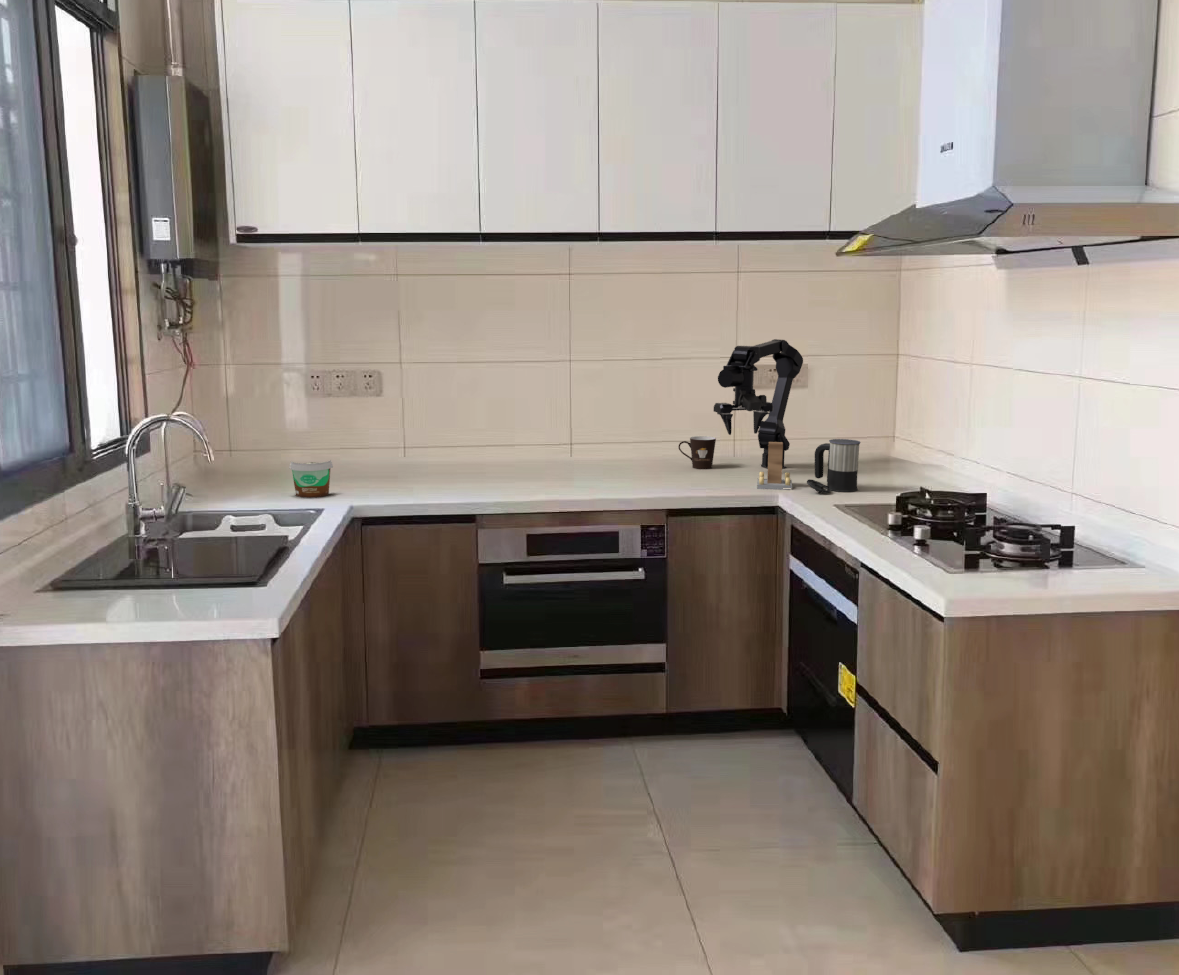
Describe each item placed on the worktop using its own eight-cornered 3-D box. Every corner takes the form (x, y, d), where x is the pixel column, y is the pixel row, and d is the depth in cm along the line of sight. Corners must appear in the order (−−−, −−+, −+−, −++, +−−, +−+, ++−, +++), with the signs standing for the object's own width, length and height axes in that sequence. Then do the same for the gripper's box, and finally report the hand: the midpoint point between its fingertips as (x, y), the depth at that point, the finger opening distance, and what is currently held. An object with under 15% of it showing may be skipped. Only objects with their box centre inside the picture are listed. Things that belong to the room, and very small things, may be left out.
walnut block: (767, 480, 346) (768, 441, 343) (781, 480, 345) (782, 442, 343) (767, 483, 341) (768, 444, 339) (781, 483, 341) (782, 444, 338)
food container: (291, 499, 320) (289, 464, 318) (290, 495, 326) (288, 461, 324) (335, 497, 323) (334, 462, 321) (334, 493, 329) (332, 459, 327)
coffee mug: (719, 467, 376) (720, 437, 375) (708, 470, 369) (708, 440, 367) (688, 463, 383) (689, 434, 381) (676, 467, 375) (677, 437, 374)
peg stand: (757, 482, 349) (757, 471, 348) (791, 483, 348) (791, 472, 347) (757, 488, 339) (757, 477, 338) (792, 489, 337) (792, 478, 337)
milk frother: (860, 488, 341) (862, 439, 338) (852, 497, 326) (855, 447, 324) (813, 484, 346) (815, 437, 343) (803, 493, 331) (805, 444, 329)
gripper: (729, 388, 348) (727, 438, 351) (782, 387, 354) (780, 436, 357) (713, 385, 358) (712, 434, 361) (765, 383, 364) (764, 431, 367)
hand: (742, 434), depth 361 cm, fingers open, 9 cm apart
